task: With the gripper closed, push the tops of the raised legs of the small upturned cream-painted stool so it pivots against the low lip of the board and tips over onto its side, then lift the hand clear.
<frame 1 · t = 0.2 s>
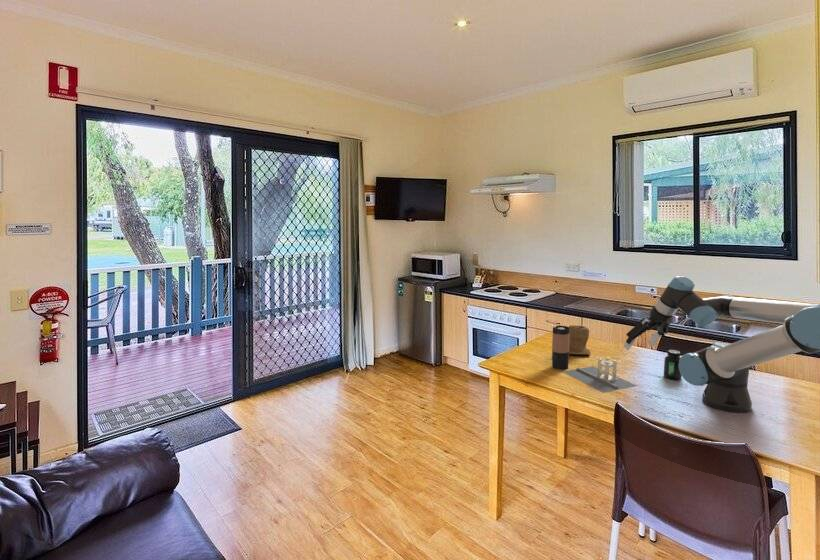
hand: (638, 345, 183), 16 cm above the table, tool tilted 30°, fingers open, 13 cm apart
travel mug: (560, 368, 205), on the table
board: (597, 379, 190), on the table
stool: (606, 378, 189), resting on board
supplement bottle: (672, 377, 190), on the table
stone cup: (574, 353, 226), on the table
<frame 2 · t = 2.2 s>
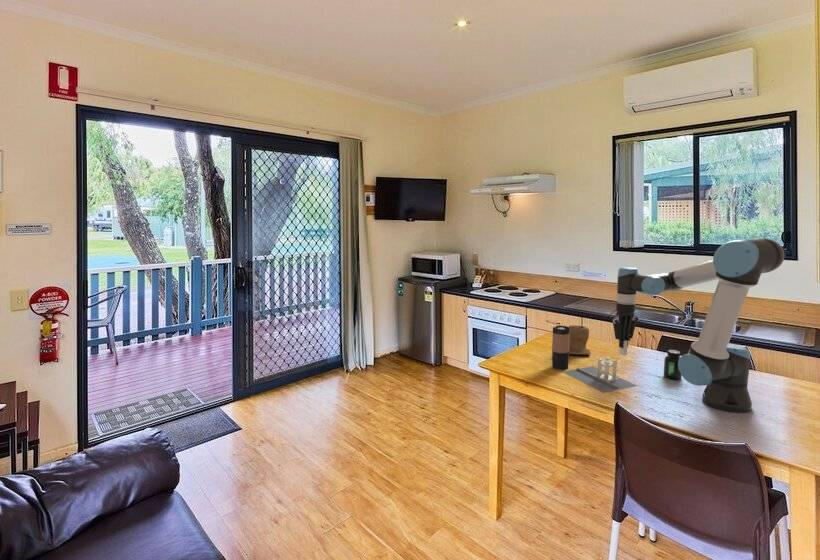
hand: (623, 354, 191), 10 cm above the table, tool pointing down, fingers closed
nothing on the table moved.
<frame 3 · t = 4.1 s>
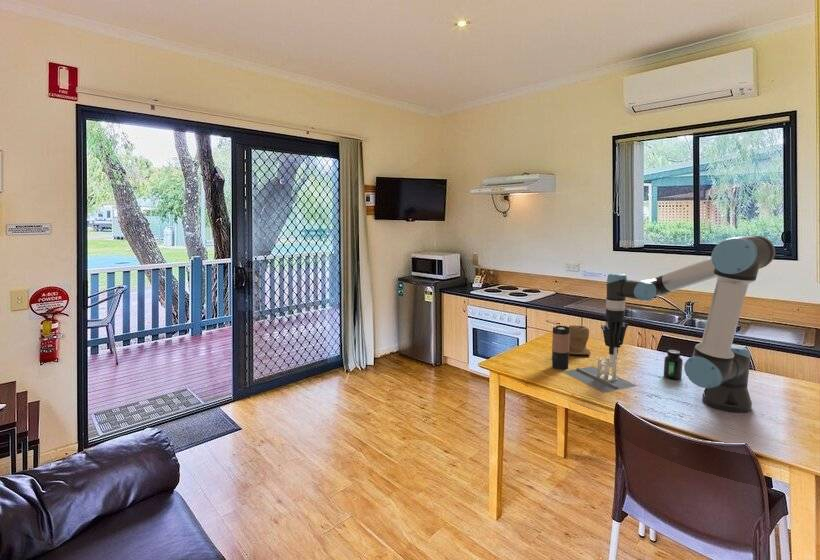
hand: (613, 361, 189), 8 cm above the table, tool pointing down, fingers closed
stool: (606, 378, 189), resting on board, touching gripper
everything else where it was.
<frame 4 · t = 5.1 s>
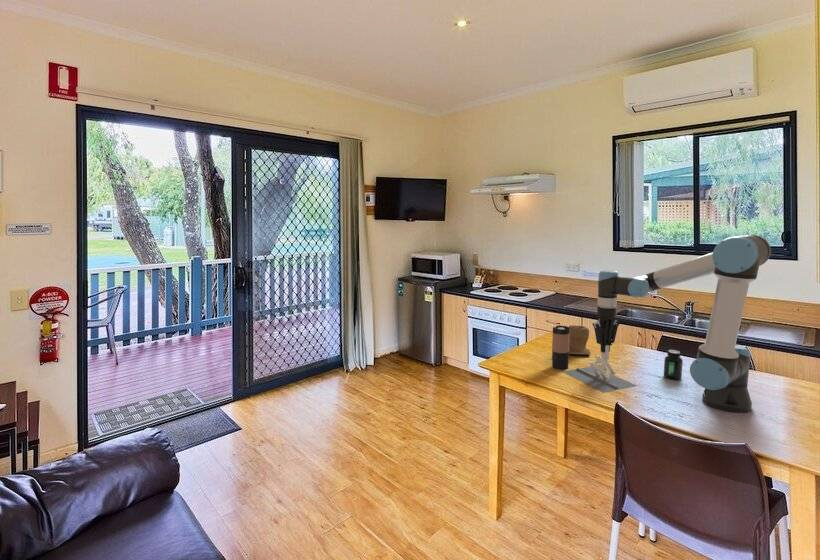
hand: (604, 359, 187), 10 cm above the table, tool pointing down, fingers closed
stool: (606, 375, 189), point 2 cm above the table, tilted 33°, touching gripper, board
everything else where it was.
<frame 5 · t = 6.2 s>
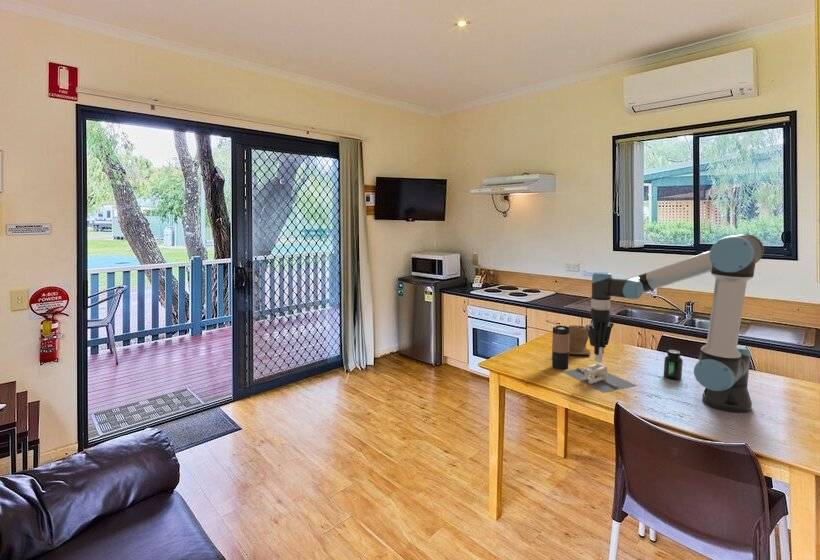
hand: (598, 361, 186), 9 cm above the table, tool pointing down, fingers closed
stool: (602, 370, 188), point 5 cm above the table, tilted 99°, touching board
everything else where it was.
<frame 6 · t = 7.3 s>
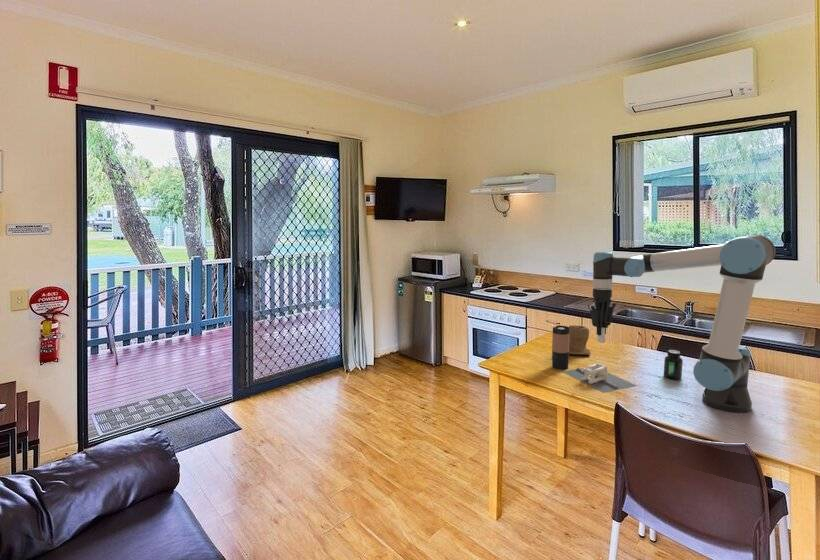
hand: (601, 341, 185), 18 cm above the table, tool pointing down, fingers closed
nothing on the table moved.
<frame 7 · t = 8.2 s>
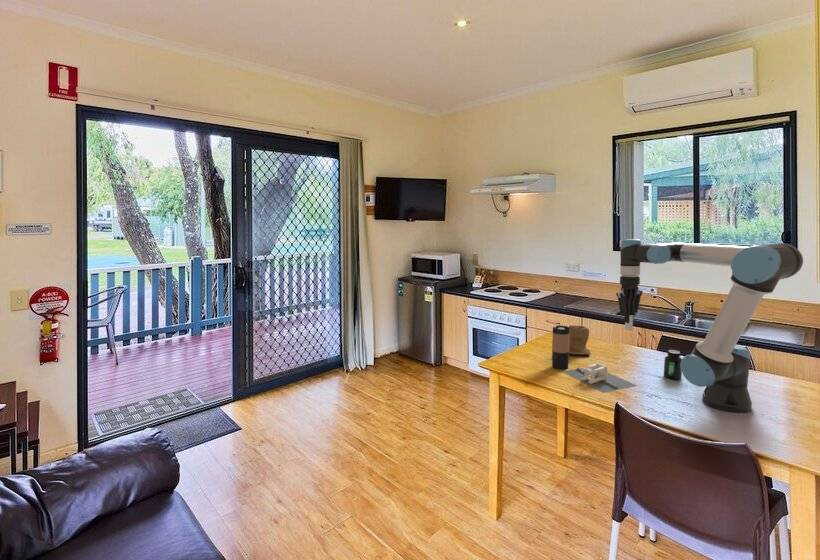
hand: (628, 329, 185), 23 cm above the table, tool pointing down, fingers closed
nothing on the table moved.
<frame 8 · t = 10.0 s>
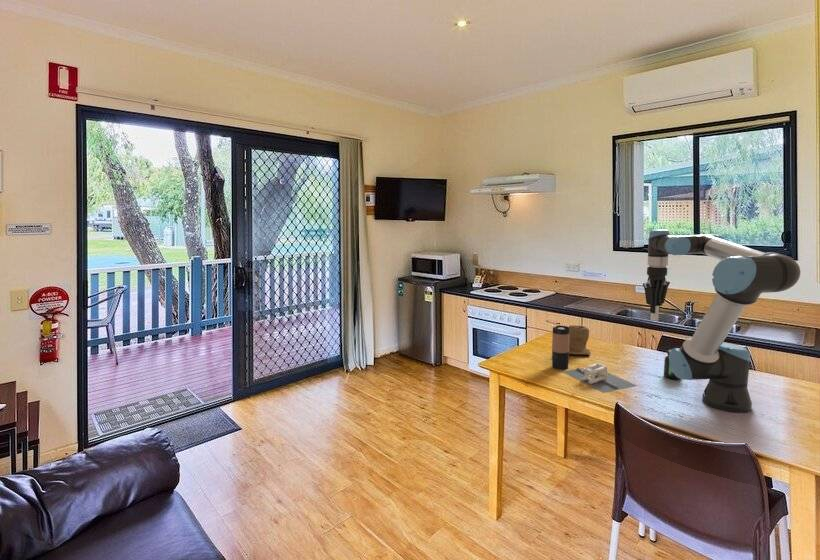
hand: (654, 320, 186), 26 cm above the table, tool pointing down, fingers closed
nothing on the table moved.
at the end: stool tilted 99°; stool inside the target area (3.6 cm from its centre), point 4.6 cm above the table; the gripper is holding nothing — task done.
